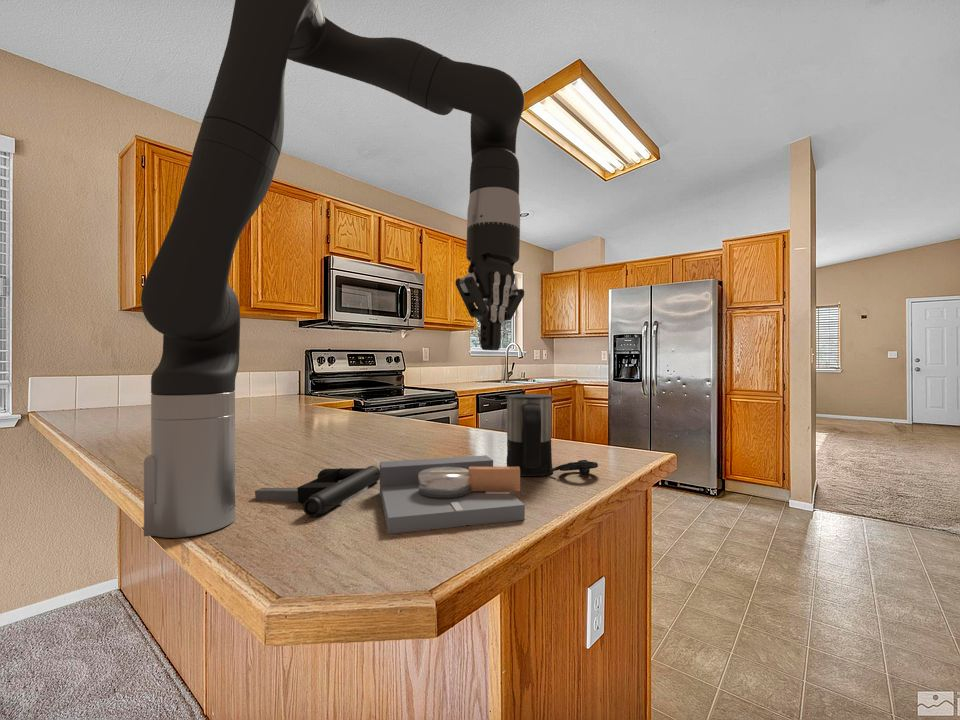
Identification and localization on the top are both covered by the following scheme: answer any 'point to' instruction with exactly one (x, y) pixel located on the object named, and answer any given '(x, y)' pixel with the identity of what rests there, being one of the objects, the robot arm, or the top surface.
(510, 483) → the dial
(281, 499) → the door handle
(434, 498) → the panel
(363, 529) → the top surface
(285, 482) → the top surface
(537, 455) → the milk frother
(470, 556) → the top surface
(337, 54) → the robot arm
